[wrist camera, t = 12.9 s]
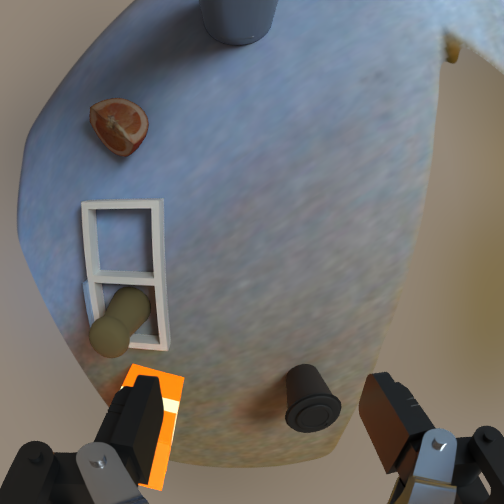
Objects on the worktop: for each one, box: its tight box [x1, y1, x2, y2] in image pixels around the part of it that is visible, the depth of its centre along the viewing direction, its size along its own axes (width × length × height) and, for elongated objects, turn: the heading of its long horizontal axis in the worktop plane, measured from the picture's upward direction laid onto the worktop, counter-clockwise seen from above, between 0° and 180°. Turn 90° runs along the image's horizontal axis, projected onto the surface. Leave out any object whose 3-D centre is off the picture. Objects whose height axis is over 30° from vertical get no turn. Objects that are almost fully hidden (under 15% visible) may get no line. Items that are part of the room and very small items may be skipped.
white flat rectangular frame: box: [81, 198, 171, 351], centre depth 39 cm, size 21×12×3 cm, turn 178°
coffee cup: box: [285, 364, 341, 433], centre depth 41 cm, size 8×8×10 cm
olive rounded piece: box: [89, 287, 151, 358], centre depth 36 cm, size 6×6×11 cm
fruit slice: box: [90, 98, 149, 157], centre depth 33 cm, size 8×7×5 cm
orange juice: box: [121, 364, 184, 490], centre depth 36 cm, size 8×9×20 cm
